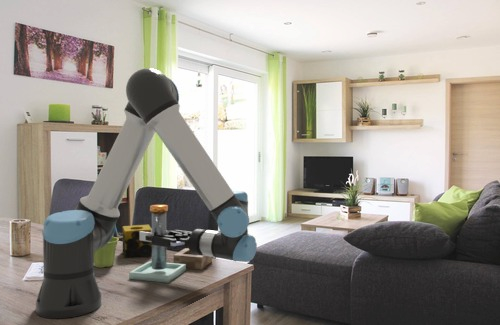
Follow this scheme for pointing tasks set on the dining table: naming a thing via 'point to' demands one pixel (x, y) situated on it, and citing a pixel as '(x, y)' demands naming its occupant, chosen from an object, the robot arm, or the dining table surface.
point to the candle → (136, 241)
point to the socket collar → (191, 259)
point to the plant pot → (106, 254)
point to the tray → (157, 272)
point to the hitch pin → (160, 228)
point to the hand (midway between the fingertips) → (146, 234)
